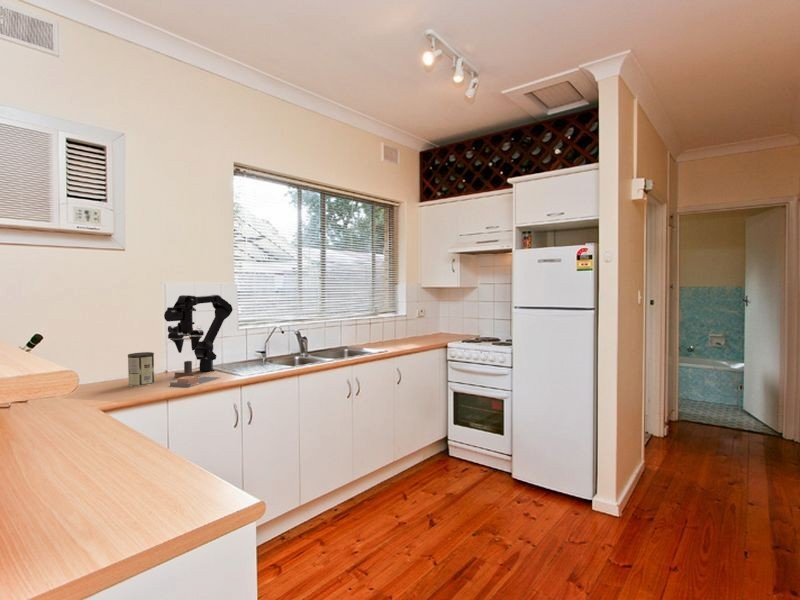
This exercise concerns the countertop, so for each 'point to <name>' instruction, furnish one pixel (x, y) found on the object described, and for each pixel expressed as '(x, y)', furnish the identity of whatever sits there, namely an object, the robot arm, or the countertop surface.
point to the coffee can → (141, 369)
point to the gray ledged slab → (200, 381)
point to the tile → (188, 379)
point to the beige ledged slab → (186, 370)
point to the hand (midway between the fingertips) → (186, 351)
